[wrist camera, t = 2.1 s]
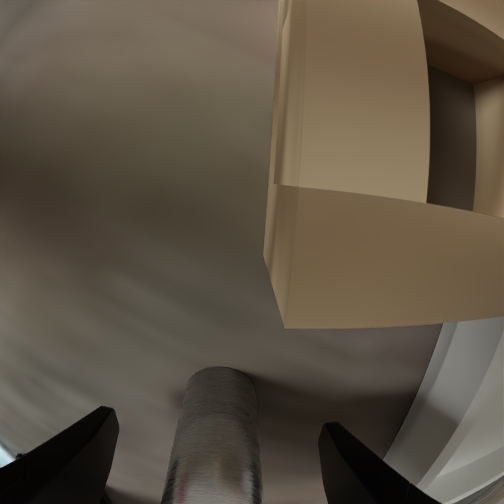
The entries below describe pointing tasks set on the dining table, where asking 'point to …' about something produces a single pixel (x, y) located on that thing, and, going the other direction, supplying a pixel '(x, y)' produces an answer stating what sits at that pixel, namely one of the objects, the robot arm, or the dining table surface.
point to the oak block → (387, 163)
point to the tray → (456, 415)
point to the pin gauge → (216, 442)
